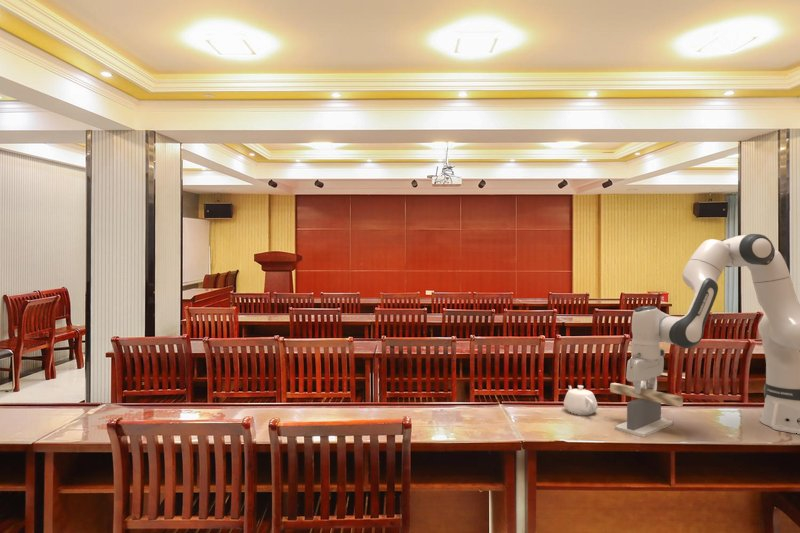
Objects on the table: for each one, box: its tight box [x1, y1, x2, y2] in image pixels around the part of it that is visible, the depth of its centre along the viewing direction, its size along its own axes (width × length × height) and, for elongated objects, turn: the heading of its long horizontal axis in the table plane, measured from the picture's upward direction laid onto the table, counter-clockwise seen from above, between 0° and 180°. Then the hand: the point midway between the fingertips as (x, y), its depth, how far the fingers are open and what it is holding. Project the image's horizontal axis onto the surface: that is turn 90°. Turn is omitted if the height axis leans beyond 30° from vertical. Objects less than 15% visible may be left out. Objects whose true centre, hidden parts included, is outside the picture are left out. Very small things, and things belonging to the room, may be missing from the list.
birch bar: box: [609, 382, 684, 408], centre depth 174 cm, size 24×3×3 cm, turn 38°
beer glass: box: [640, 376, 658, 391], centre depth 194 cm, size 7×7×15 cm
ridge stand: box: [614, 398, 674, 438], centre depth 174 cm, size 10×22×10 cm, turn 128°
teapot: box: [563, 384, 599, 416], centre depth 192 cm, size 20×12×10 cm, turn 6°
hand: (644, 391), depth 174 cm, fingers open, 8 cm apart
